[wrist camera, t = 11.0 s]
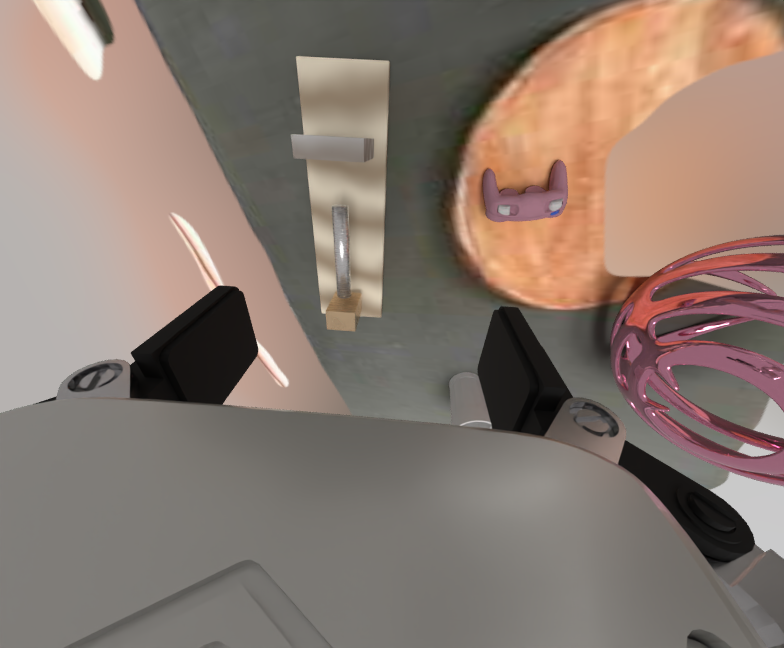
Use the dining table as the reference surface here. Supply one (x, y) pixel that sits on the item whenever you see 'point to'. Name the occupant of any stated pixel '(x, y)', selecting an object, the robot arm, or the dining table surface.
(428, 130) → the dining table surface
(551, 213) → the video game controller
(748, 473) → the spiral basket
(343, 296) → the peg
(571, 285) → the dining table surface
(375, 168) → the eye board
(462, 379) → the cup
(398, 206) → the dining table surface
